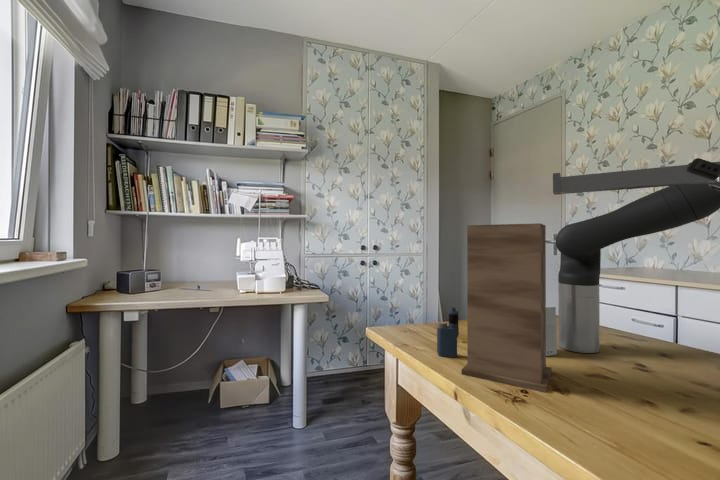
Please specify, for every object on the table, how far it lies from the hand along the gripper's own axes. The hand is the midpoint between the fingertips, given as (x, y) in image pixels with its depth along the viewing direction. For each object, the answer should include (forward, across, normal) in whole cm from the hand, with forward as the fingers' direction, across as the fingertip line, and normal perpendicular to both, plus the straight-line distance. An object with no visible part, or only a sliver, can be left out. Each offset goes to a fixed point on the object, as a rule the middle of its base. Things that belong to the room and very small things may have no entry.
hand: (689, 166), depth 58 cm
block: (+5, 0, +6) cm, 8 cm away
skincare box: (+1, -20, +48) cm, 52 cm away
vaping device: (+17, -4, +58) cm, 60 cm away
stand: (+5, 0, +50) cm, 50 cm away
